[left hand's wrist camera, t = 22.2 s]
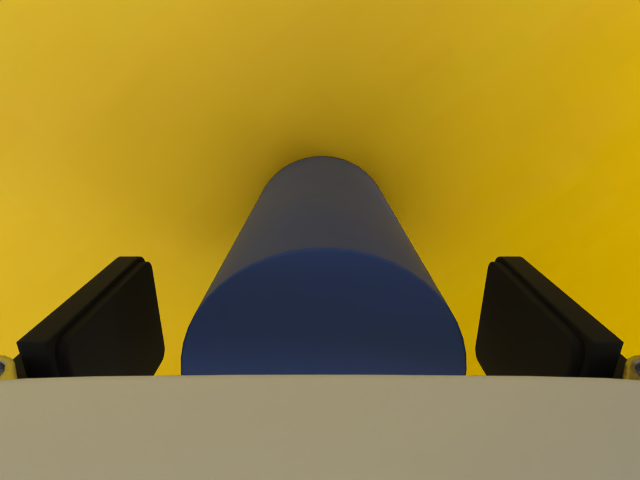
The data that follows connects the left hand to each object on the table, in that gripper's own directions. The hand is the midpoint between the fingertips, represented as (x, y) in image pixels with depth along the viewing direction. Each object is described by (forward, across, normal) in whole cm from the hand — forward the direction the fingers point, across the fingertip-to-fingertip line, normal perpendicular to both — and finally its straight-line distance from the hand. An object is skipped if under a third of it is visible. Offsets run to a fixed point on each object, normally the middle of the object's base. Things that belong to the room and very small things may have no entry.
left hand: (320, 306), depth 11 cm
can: (+8, 0, 0) cm, 8 cm away
